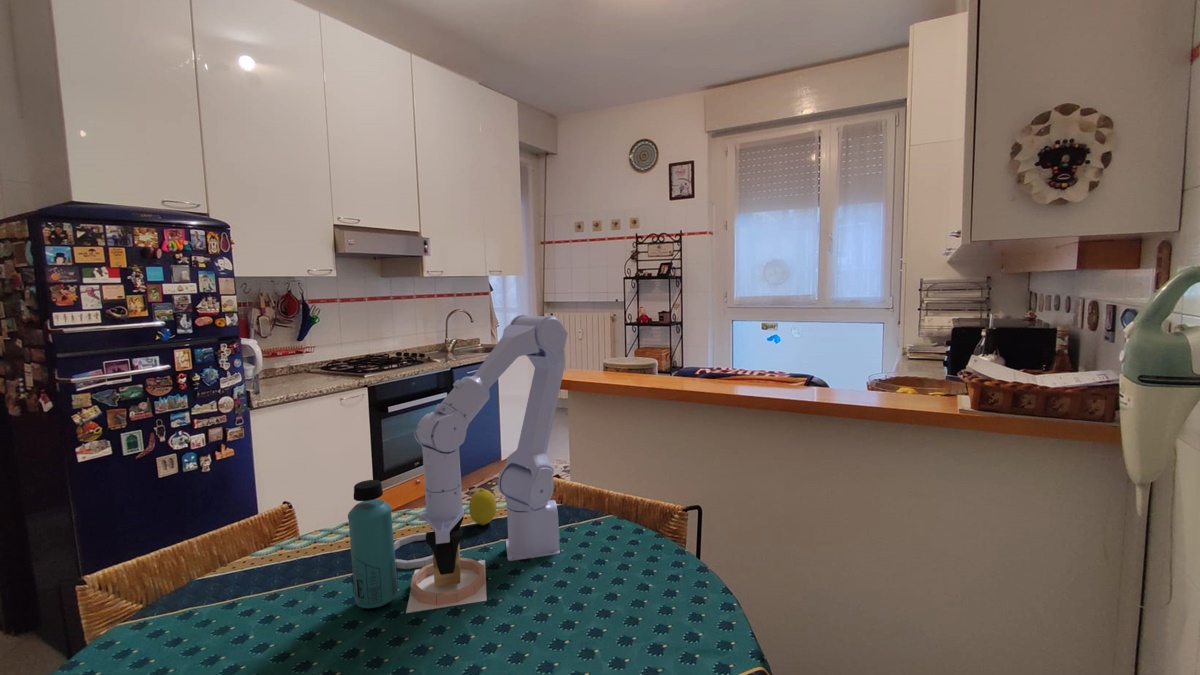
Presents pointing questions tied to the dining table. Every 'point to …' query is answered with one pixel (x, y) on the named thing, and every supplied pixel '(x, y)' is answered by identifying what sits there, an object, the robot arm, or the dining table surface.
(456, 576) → the ochre block
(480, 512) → the lemon
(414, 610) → the card
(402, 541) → the ring
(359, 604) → the beverage bottle
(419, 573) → the ring
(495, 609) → the dining table surface
